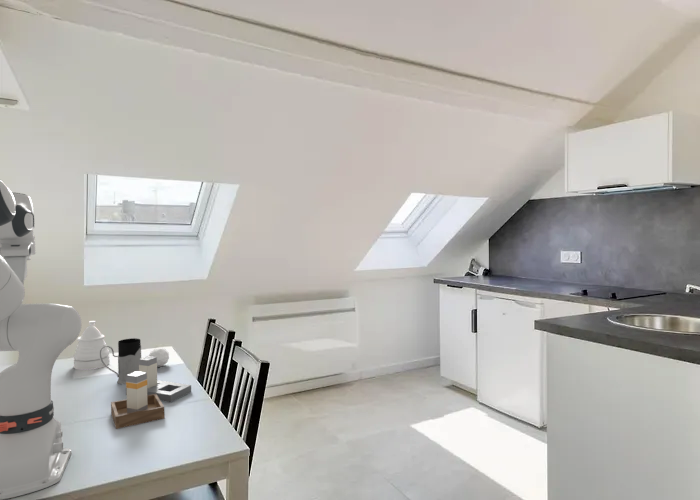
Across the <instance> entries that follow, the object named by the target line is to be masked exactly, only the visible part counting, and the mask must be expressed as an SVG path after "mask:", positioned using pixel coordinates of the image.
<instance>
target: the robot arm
mask: <svg viewBox="0 0 700 500" xmlns="http://www.w3.org/2000/svg"><path fill="white" fill-rule="evenodd" d="M33 206H34V205H33V201H32V199H31V197H30V196H29V195H27V194H25V193H21V192H12V191H11V190H10V188H9V187H8V186H7V185H6V184H5V182H4V181H3V180H2V179H0V352H15V351H16V352H18V359H17V362H16V363H13V364H12V365H10V366H8V367H6V368H5V369H3V370H2V371H0V500H7V499H10V498H11V499H13V498H15V497H19V496H20V497H21V496H24V495H26V494H27V495H28V494H31V493H35V492H38V491H40V490H43V489H46V488H48V487H51V486H53V485H54V484H57V483H59V482H60V481H61V479H62V476H63V474H64V472H65V470H66V467H67V466H68V462H69V461H70V458H71V456H72V449H71V448H69V447H64V443H63V438H62V437H63V431H62V424H61V421H59V420H57V419H56V418H54V414H55V412H54V411H55V407H54V401H53V400H52V394H51V393H52V373H53V368H54V365H55V363H56V361H57V359H58V358H59V356H60V355H61V353H62V352H63V351H64V350H65V349H66V348H68V347H69V346H71V345H72V344H73V343H74V342H76V341H77V338H78V337H79V335H80V333H81V332H82V331H81V330H82V323H83V322H82V318H81V315H80V313H79V312H78V311H77V309H75V307H74V306H71V305H66V304H59V303H54V302H53V303H52V302H51V303H50V302H49V303H47V302H45V303H43V302H42V303H23V302H24V300H25V295H26V291H25V290H26V289H25V286H24V283H25V280H26V278H27V276H28V261H30V260H31V256H32V255H36V237H35V234H34V229H35V212H34V207H33Z"/></svg>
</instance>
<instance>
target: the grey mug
mask: <svg viewBox="0 0 700 500" xmlns="http://www.w3.org/2000/svg"><path fill="white" fill-rule="evenodd" d="M105 347H107V348H108V349H111V352H112V356H113V357H114V358H117V367H118V368H117V369H118V372H116V371H115V370H114V369H112V368H110V367H109V366H108V365H107V366H106V365H105V363H104V362H103V360H102V357H101V350H102V349H103V348H105ZM105 347H103V348H101V350H100V359H101V361H102V363H103V365H104V367H105V368H106V369H108V370H110V371H111V372H113V373H114V374H116V376H117V378H118V379H117V381H116V383H117V384H119V385H126V375H128V374H130V373H133V372H136V371H139V359H141V358H142V345H141V339H140V338H135V337H133V338H125V339H121V340H118V343H117V349H118V351H117V352H118V354H117V355H116V354H115V353H114V352H115V351H114V348H113V347H112V346H110V345H106V346H105Z"/></svg>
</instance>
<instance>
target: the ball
mask: <svg viewBox="0 0 700 500" xmlns="http://www.w3.org/2000/svg"><path fill="white" fill-rule="evenodd" d="M148 356H151V357H157V368H159V367H163V366H165V365H166V364H167V363H168V362H169V360H170V354H169V352H168V351H167V350H166V349H165V348H163V347H157V348H154V349H152V350H151V351H150V352H149V355H148Z"/></svg>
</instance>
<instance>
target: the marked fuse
mask: <svg viewBox="0 0 700 500" xmlns="http://www.w3.org/2000/svg"><path fill="white" fill-rule="evenodd" d="M126 389H127V395H126V399H127V413H132V412H137V411H142V410H147V409H148V403H147V372H139V371H136V372H133V373H130V374H128V375H126V384H125V390H126Z"/></svg>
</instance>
